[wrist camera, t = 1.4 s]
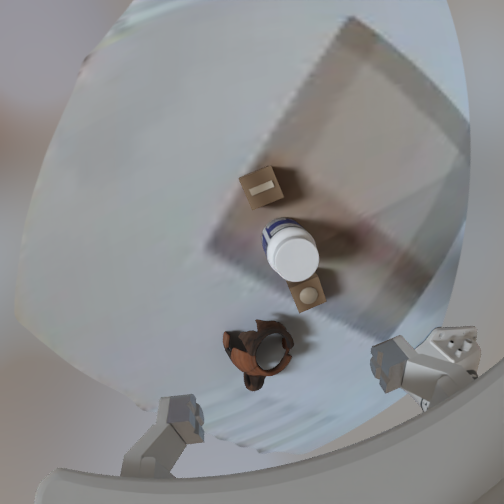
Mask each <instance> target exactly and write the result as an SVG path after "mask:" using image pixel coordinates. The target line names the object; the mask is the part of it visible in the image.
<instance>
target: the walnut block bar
mask: <svg viewBox="0 0 504 504" xmlns="http://www.w3.org/2000/svg"><path fill="white" fill-rule="evenodd" d="M239 181H240V183H241V185H242V188H243V190H244V192H245V194H246V197H247V199H248V201H249V204H250V206H251V208H252V210H255V209H257V208H259V207H262V206H264V205H267V204H269V203H271V202H274V201H276V200H279V199H281V198H283V197H284V196H283V193H282V191H281V188H280V186H279V184H278V181H277V179H276V176H275V174H274V172H273V169H272V167H271V166H266V167H264V168H261V169H259V170H256V171H254V172H251V173H249V174H247V175H244V176H242V177H240V178H239Z"/></svg>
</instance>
